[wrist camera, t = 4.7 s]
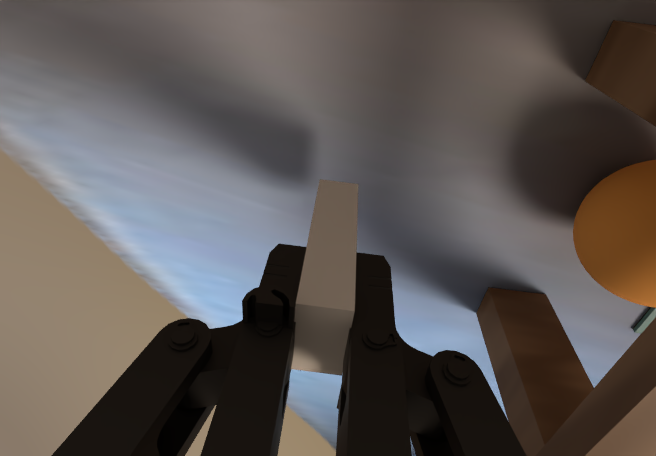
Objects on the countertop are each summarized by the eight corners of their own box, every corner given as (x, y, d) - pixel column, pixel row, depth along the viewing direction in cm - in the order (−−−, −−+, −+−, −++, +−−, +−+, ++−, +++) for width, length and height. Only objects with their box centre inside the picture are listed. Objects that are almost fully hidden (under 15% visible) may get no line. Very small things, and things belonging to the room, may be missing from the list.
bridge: (702, 31, 13) (1129, 146, 6) (530, 320, 22) (616, 515, 14) (613, 20, 13) (926, 121, 6) (476, 313, 22) (534, 505, 14)
